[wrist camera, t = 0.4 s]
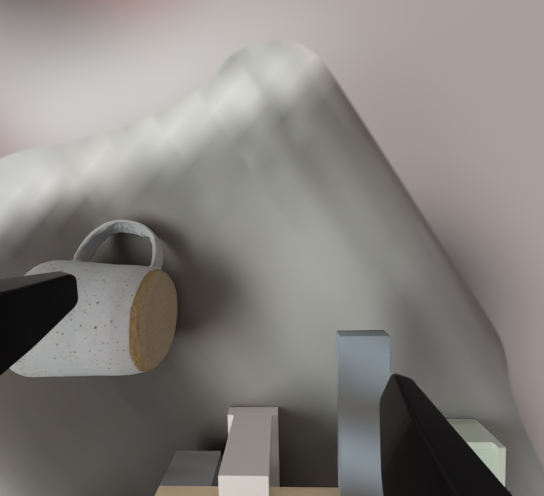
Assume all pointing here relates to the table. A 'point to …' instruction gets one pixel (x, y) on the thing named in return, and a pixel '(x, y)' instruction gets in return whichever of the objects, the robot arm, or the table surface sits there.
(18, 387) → the table surface
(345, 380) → the lever
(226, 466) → the stand
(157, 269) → the ceramic mug
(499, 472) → the tray
